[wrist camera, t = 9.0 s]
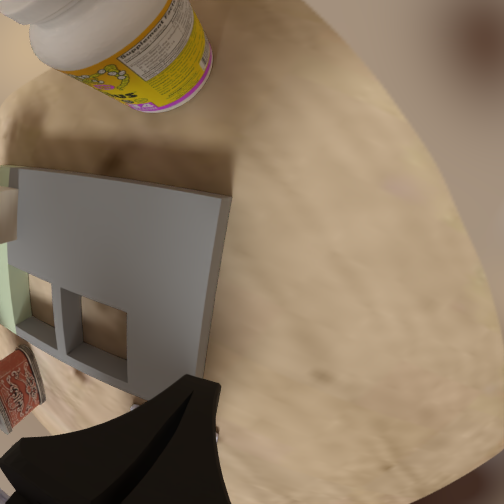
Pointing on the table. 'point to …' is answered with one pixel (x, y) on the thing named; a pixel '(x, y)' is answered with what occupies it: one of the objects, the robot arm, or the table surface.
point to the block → (8, 214)
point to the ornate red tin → (19, 387)
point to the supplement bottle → (121, 46)
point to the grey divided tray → (115, 271)
